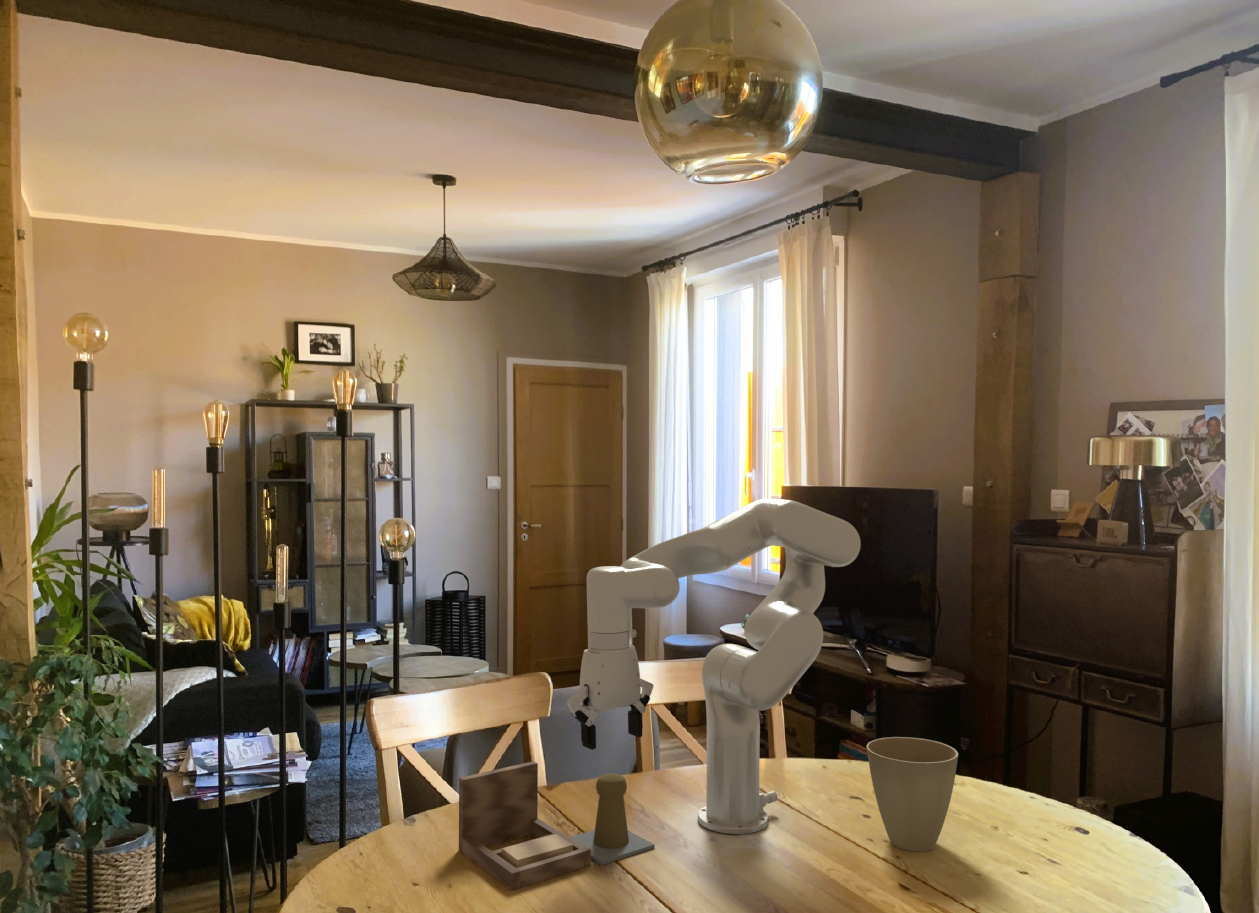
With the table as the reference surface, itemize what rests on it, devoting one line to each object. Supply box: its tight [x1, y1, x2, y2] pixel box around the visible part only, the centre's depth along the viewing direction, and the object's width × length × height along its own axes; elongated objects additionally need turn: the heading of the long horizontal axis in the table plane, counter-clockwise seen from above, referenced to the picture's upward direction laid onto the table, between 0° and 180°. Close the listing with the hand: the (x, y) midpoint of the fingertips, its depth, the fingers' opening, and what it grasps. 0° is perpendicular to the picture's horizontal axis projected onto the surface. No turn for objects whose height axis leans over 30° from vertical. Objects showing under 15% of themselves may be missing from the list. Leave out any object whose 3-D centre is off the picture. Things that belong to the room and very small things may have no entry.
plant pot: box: [866, 736, 959, 853], centre depth 155 cm, size 15×15×16 cm
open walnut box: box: [458, 760, 592, 891], centre depth 148 cm, size 14×18×12 cm
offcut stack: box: [502, 834, 573, 868], centre depth 145 cm, size 10×5×4 cm, turn 125°
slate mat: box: [570, 829, 656, 866], centre depth 153 cm, size 11×11×1 cm
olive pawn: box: [593, 773, 629, 849], centre depth 154 cm, size 6×6×11 cm
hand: (612, 741), depth 154 cm, fingers open, 9 cm apart
